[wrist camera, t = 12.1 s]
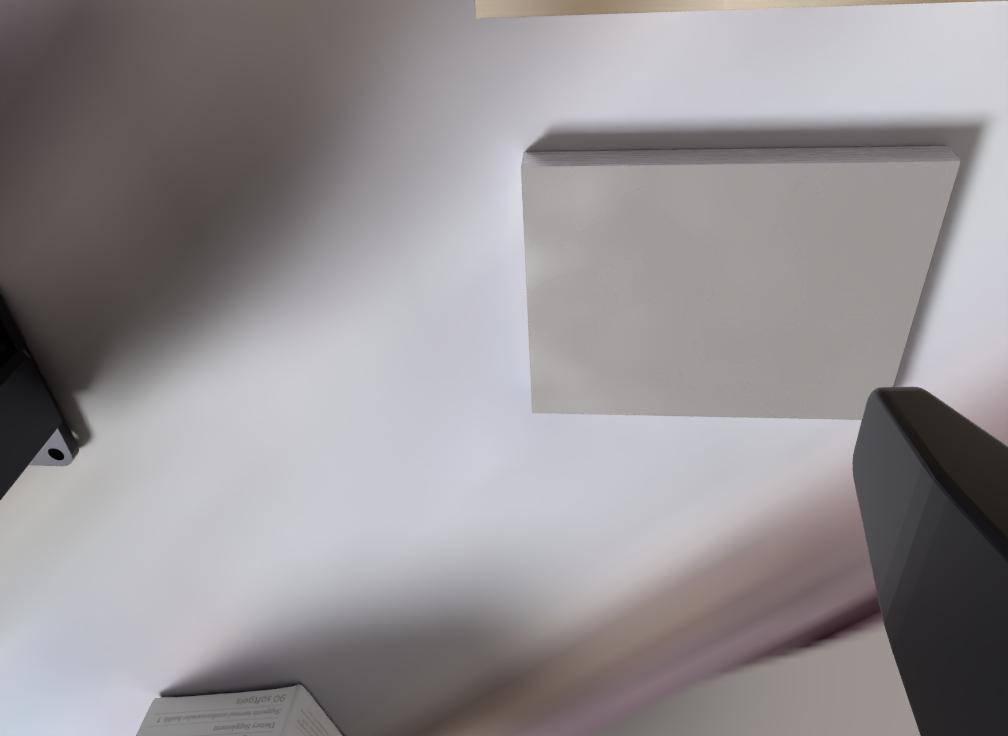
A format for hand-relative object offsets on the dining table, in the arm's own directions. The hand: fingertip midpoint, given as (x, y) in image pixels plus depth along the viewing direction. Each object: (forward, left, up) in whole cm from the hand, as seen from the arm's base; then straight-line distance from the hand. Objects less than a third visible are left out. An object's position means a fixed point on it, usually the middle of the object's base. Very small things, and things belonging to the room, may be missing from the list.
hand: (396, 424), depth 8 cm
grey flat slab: (+5, -5, -11) cm, 14 cm away
